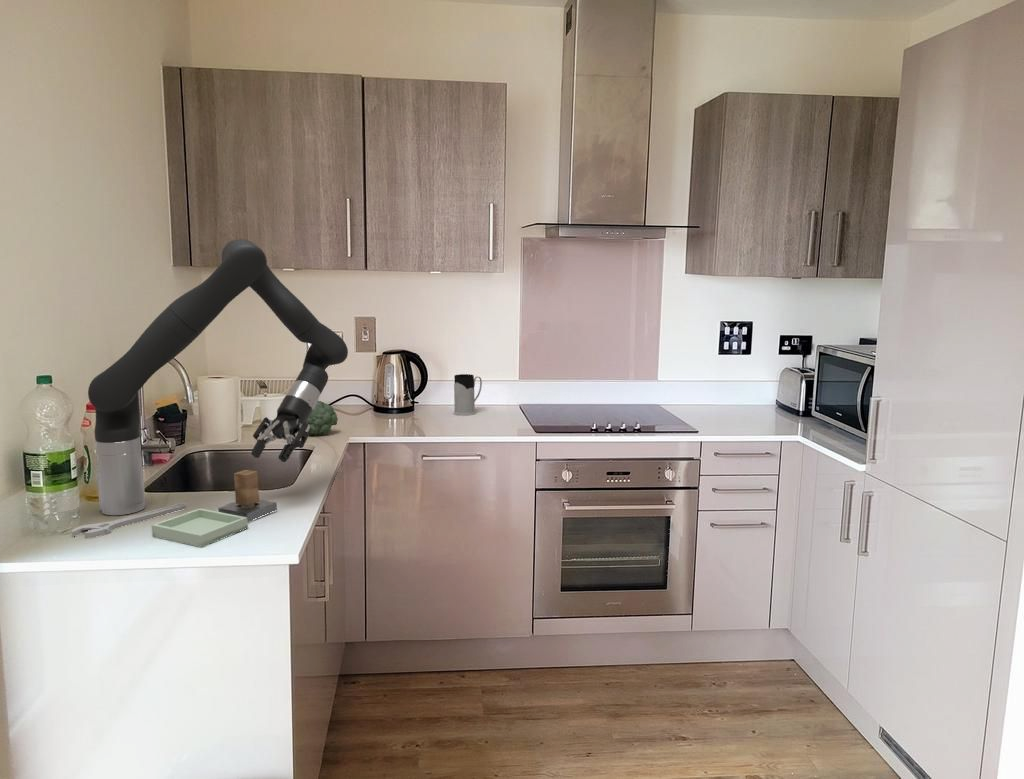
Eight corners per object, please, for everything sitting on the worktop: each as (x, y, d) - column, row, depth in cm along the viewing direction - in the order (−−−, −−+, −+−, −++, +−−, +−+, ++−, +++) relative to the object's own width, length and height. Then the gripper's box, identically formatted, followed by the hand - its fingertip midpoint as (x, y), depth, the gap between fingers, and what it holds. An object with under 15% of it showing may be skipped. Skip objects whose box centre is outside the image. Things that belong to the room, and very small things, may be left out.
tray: (152, 536, 160) (151, 525, 160) (200, 518, 171) (199, 508, 171) (201, 547, 154) (200, 535, 153) (248, 528, 165) (247, 517, 164)
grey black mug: (448, 413, 294) (448, 375, 292) (473, 408, 305) (473, 371, 302) (465, 416, 289) (464, 377, 286) (489, 411, 299) (489, 373, 297)
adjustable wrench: (183, 508, 181) (182, 501, 180) (196, 514, 177) (196, 506, 176) (69, 535, 162) (68, 527, 162) (81, 542, 158) (80, 534, 157)
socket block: (218, 517, 173) (218, 507, 172) (248, 506, 180) (248, 497, 180) (247, 522, 169) (247, 513, 168) (277, 511, 176) (276, 502, 176)
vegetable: (348, 423, 267) (338, 411, 252) (323, 450, 264) (312, 440, 250) (323, 401, 269) (312, 389, 255) (298, 428, 266) (286, 417, 252)
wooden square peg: (236, 515, 174) (233, 473, 172) (248, 511, 177) (245, 469, 175) (248, 517, 172) (245, 475, 171) (259, 513, 175) (257, 471, 174)
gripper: (269, 392, 188) (236, 446, 179) (313, 396, 181) (282, 453, 173) (285, 409, 193) (254, 463, 185) (329, 414, 187) (299, 469, 179)
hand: (268, 458), depth 179 cm, fingers open, 8 cm apart
